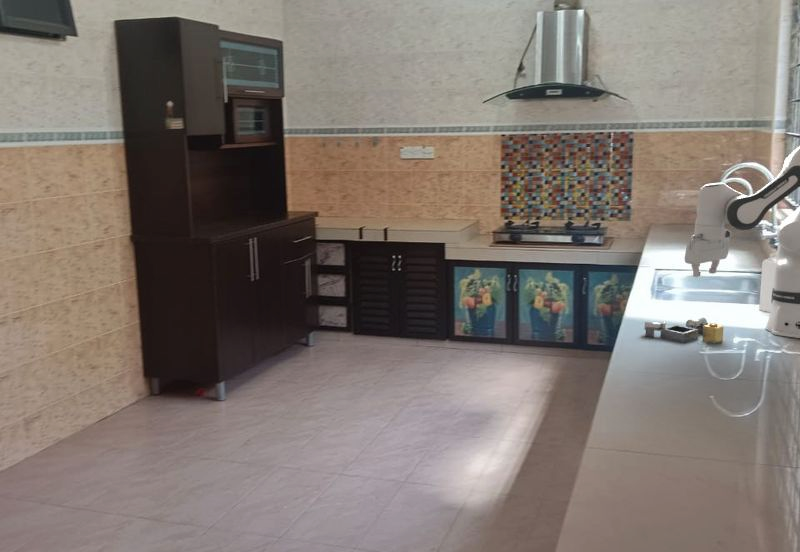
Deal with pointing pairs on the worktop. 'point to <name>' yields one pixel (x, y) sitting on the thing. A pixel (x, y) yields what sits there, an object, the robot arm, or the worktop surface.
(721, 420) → the worktop surface
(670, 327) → the box
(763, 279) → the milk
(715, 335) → the coupler
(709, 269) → the robot arm
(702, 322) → the grey irregular block
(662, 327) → the grey brown arch block
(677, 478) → the worktop surface
